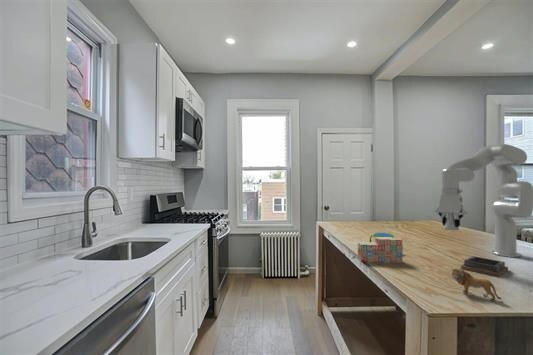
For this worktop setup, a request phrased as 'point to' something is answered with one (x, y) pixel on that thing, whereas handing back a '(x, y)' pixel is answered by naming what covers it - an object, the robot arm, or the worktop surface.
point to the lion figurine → (473, 282)
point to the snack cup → (381, 235)
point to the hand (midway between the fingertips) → (450, 225)
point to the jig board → (484, 266)
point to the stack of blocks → (381, 250)
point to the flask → (450, 222)
